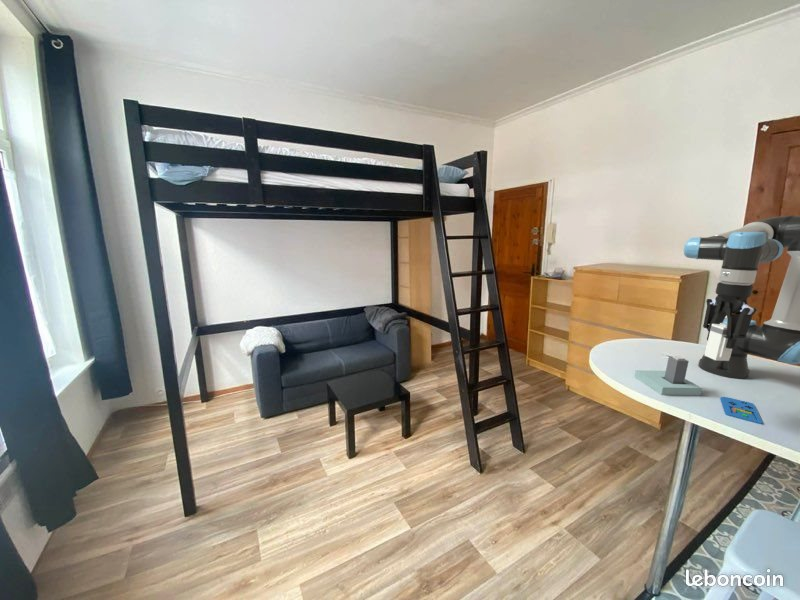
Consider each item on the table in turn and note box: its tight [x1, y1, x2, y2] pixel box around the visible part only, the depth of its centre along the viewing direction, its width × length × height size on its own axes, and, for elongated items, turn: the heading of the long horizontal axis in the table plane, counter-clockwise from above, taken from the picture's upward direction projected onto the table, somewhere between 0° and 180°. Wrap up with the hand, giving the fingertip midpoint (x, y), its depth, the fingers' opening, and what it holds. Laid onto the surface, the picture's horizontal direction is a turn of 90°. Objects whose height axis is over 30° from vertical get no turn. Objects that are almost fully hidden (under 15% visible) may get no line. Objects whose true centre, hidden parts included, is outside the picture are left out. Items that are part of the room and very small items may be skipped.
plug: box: [664, 355, 689, 384], centre depth 117 cm, size 4×4×13 cm
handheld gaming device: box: [719, 396, 764, 425], centre depth 104 cm, size 8×1×15 cm
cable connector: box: [703, 323, 734, 361], centre depth 98 cm, size 4×4×12 cm
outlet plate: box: [634, 369, 703, 396], centre depth 119 cm, size 14×14×3 cm
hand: (717, 354), depth 99 cm, fingers closed on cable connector, 4 cm apart
